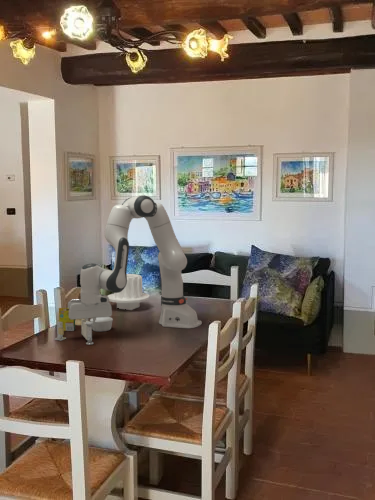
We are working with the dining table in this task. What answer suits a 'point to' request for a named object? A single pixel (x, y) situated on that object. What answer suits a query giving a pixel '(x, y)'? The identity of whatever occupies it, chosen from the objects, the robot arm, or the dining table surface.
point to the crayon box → (66, 320)
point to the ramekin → (102, 324)
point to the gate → (85, 327)
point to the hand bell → (78, 321)
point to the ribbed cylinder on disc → (130, 294)
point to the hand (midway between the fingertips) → (90, 327)
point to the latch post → (60, 331)
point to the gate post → (89, 335)
